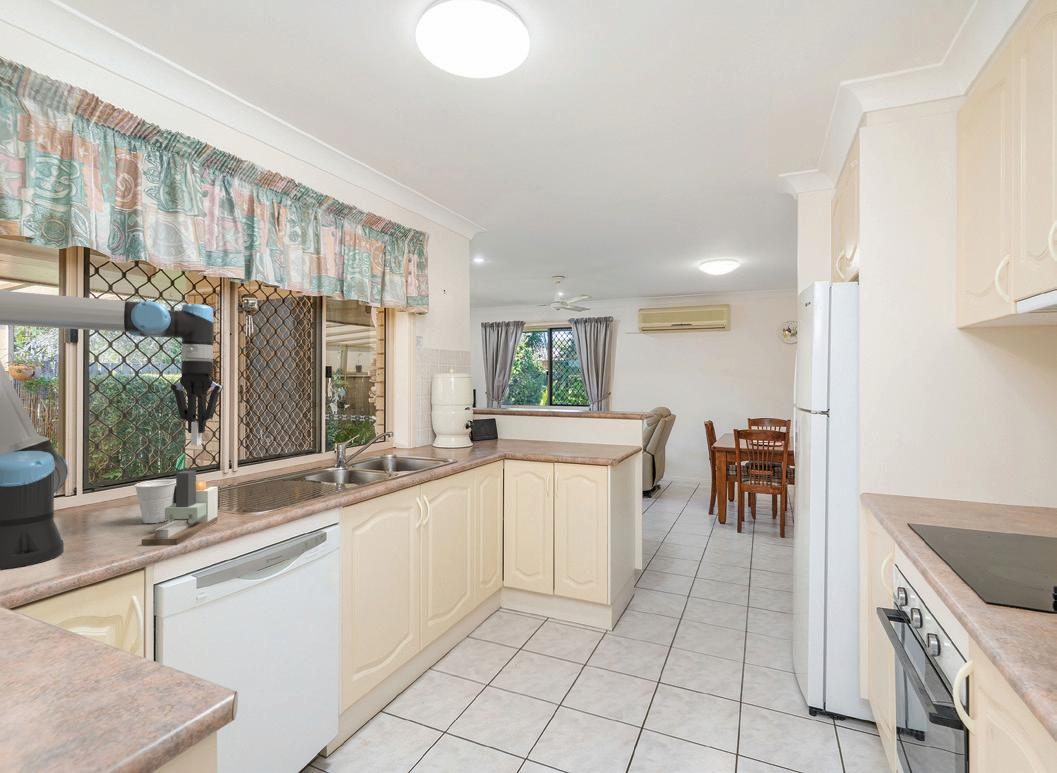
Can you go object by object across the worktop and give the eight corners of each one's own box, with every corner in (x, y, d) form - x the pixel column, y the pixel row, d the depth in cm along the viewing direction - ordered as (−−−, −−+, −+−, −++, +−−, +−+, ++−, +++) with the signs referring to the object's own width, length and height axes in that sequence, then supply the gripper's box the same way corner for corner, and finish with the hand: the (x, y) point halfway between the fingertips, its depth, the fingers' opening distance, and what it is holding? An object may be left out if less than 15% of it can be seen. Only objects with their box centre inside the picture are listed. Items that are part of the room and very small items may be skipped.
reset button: (186, 501, 147) (186, 483, 147) (193, 498, 151) (193, 480, 151) (201, 501, 148) (201, 483, 148) (208, 498, 152) (208, 480, 152)
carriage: (164, 523, 140) (165, 473, 140) (174, 519, 145) (175, 470, 145) (197, 523, 141) (197, 473, 141) (206, 518, 146) (206, 470, 146)
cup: (141, 528, 145) (140, 488, 145) (130, 522, 152) (129, 483, 151) (182, 520, 153) (182, 482, 153) (170, 514, 159) (169, 478, 159)
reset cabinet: (176, 522, 146) (176, 491, 146) (187, 516, 152) (187, 487, 152) (207, 521, 147) (207, 490, 147) (217, 516, 153) (217, 486, 153)
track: (141, 545, 130) (141, 531, 130) (187, 522, 152) (187, 509, 152) (176, 544, 131) (176, 530, 131) (217, 521, 153) (217, 509, 153)
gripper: (164, 359, 145) (163, 446, 145) (216, 360, 146) (215, 446, 146) (179, 360, 152) (178, 443, 152) (228, 361, 154) (227, 443, 154)
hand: (196, 444), depth 149 cm, fingers closed
